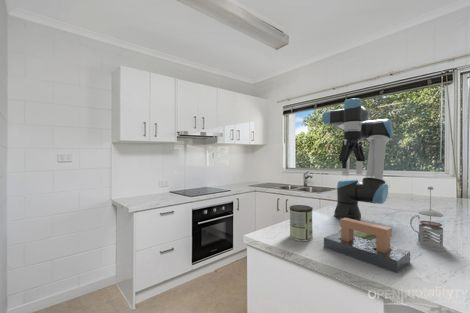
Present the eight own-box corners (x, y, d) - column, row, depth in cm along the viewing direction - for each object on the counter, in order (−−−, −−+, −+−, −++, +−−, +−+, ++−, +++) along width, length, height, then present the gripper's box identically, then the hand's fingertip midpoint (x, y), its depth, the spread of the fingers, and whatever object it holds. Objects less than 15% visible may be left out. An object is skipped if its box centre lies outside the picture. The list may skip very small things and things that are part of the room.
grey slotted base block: (323, 247, 94) (323, 237, 94) (339, 240, 101) (339, 231, 101) (397, 273, 73) (397, 260, 73) (410, 262, 80) (410, 251, 80)
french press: (449, 252, 89) (449, 188, 89) (412, 246, 95) (411, 186, 95) (443, 244, 97) (443, 186, 97) (409, 239, 103) (409, 184, 103)
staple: (340, 248, 93) (340, 219, 93) (345, 246, 95) (345, 217, 95) (387, 264, 79) (387, 229, 79) (391, 261, 81) (391, 227, 81)
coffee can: (290, 232, 112) (290, 204, 112) (312, 235, 109) (312, 205, 109) (288, 239, 102) (288, 208, 102) (312, 242, 99) (312, 210, 99)
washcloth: (336, 234, 111) (336, 228, 111) (356, 228, 120) (356, 222, 120) (364, 243, 100) (364, 235, 100) (383, 235, 109) (383, 229, 109)
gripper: (346, 128, 100) (347, 176, 100) (372, 132, 115) (372, 174, 115) (331, 130, 106) (331, 175, 106) (357, 133, 121) (357, 173, 121)
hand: (352, 174), depth 110 cm, fingers open, 13 cm apart
